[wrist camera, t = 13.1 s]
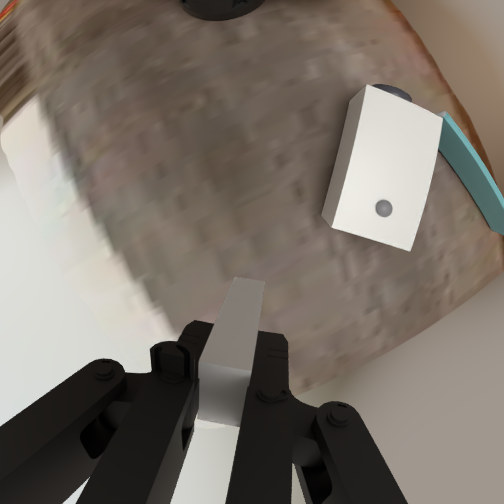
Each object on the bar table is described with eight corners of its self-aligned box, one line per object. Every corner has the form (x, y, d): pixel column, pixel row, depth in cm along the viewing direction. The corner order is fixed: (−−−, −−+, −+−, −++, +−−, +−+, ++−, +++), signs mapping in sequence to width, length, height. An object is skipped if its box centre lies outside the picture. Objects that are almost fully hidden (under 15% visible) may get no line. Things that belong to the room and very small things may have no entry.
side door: (415, 121, 34) (441, 114, 26) (421, 114, 34) (447, 106, 26) (491, 230, 37) (518, 241, 29) (496, 223, 36) (523, 233, 29)
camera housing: (351, 91, 35) (370, 71, 26) (416, 117, 34) (447, 107, 25) (321, 215, 41) (332, 228, 31) (386, 235, 40) (412, 252, 31)
